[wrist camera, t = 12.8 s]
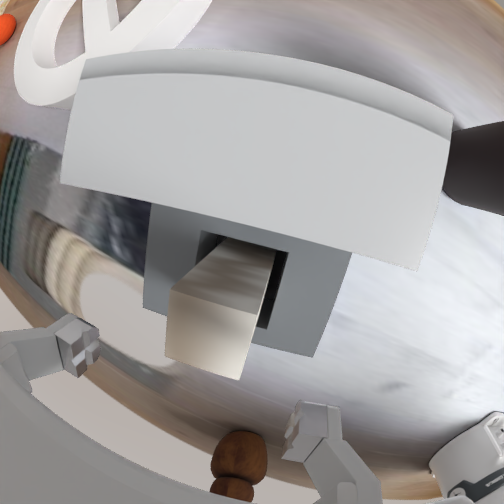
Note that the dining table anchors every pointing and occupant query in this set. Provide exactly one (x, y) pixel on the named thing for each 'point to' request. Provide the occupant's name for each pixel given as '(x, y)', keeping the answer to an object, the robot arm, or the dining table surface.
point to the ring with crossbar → (94, 41)
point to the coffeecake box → (3, 5)
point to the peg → (219, 307)
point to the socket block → (261, 169)
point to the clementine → (6, 27)
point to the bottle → (477, 167)
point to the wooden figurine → (238, 465)
